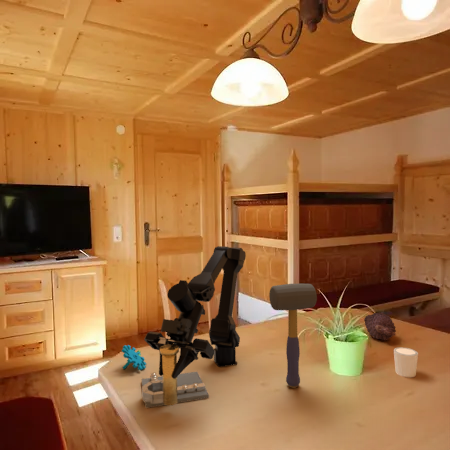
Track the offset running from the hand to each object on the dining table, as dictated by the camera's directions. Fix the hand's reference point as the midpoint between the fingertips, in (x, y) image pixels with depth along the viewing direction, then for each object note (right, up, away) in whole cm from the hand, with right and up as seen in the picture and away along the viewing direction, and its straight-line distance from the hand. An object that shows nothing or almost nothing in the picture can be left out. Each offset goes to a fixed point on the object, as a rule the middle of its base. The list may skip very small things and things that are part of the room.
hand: (166, 376), depth 93 cm
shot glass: (+71, -8, +22) cm, 75 cm away
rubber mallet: (+34, -9, +15) cm, 39 cm away
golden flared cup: (+1, -7, +2) cm, 7 cm away
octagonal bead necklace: (0, -8, +13) cm, 15 cm away
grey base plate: (0, -9, +14) cm, 16 cm away
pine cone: (+76, -7, +53) cm, 93 cm away
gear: (-15, -9, +29) cm, 34 cm away
